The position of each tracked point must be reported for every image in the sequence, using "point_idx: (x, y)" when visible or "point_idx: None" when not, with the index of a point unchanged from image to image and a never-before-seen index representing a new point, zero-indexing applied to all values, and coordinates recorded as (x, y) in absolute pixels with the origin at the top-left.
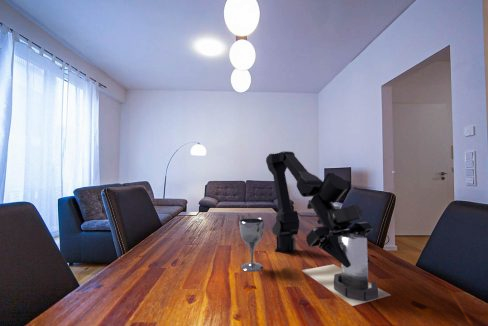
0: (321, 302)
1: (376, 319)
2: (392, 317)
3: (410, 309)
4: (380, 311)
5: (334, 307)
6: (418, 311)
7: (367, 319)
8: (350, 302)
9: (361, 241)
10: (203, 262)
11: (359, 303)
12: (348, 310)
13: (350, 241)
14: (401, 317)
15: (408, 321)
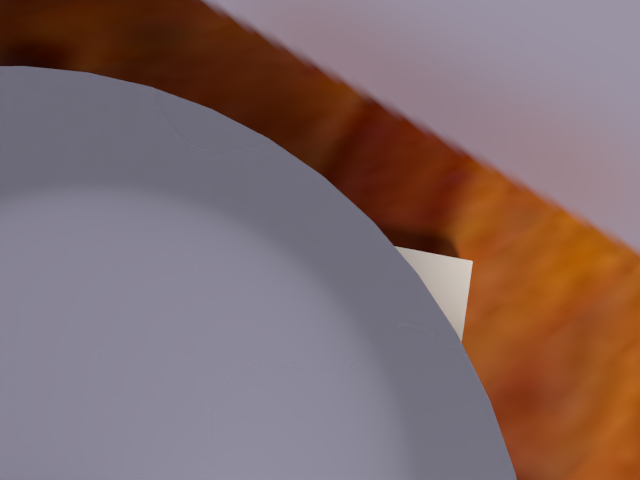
0: (579, 449)
1: (415, 141)
2: (314, 101)
3: (132, 81)
4: (315, 167)
5: (542, 355)
6: (116, 48)
7: (462, 168)
8: (450, 293)
9: (203, 113)
10: None
11: (404, 251)
12: (486, 282)
13: (475, 391)
14: (268, 75)
15: (274, 40)
